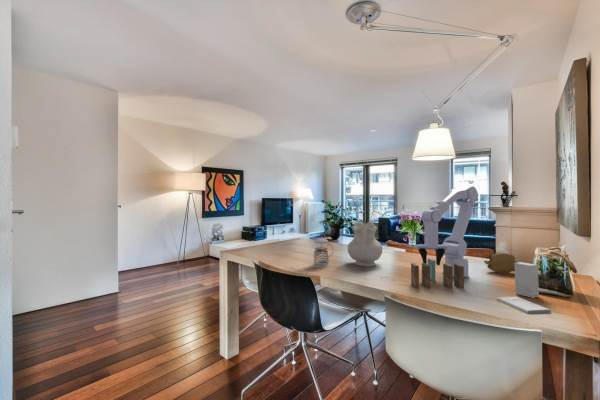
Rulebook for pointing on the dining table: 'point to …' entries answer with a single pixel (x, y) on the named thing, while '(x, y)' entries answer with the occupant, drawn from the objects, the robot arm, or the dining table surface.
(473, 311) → the dining table surface
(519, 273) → the skincare box
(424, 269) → the domino
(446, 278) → the domino
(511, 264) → the wooden carving
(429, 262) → the domino
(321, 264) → the french press
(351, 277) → the dining table surface
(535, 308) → the external hard drive
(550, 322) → the dining table surface
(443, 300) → the dining table surface
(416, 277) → the domino
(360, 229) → the ceramic pitcher
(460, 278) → the domino
